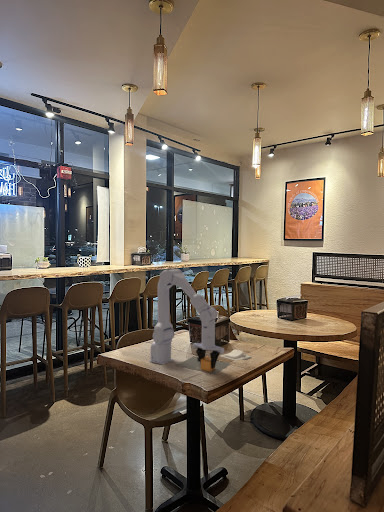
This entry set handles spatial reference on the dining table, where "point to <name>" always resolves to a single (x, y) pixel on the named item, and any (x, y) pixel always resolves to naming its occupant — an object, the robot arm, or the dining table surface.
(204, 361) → the orange panelled cube
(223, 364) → the board
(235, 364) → the dining table surface
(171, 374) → the dining table surface
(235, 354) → the light switch
